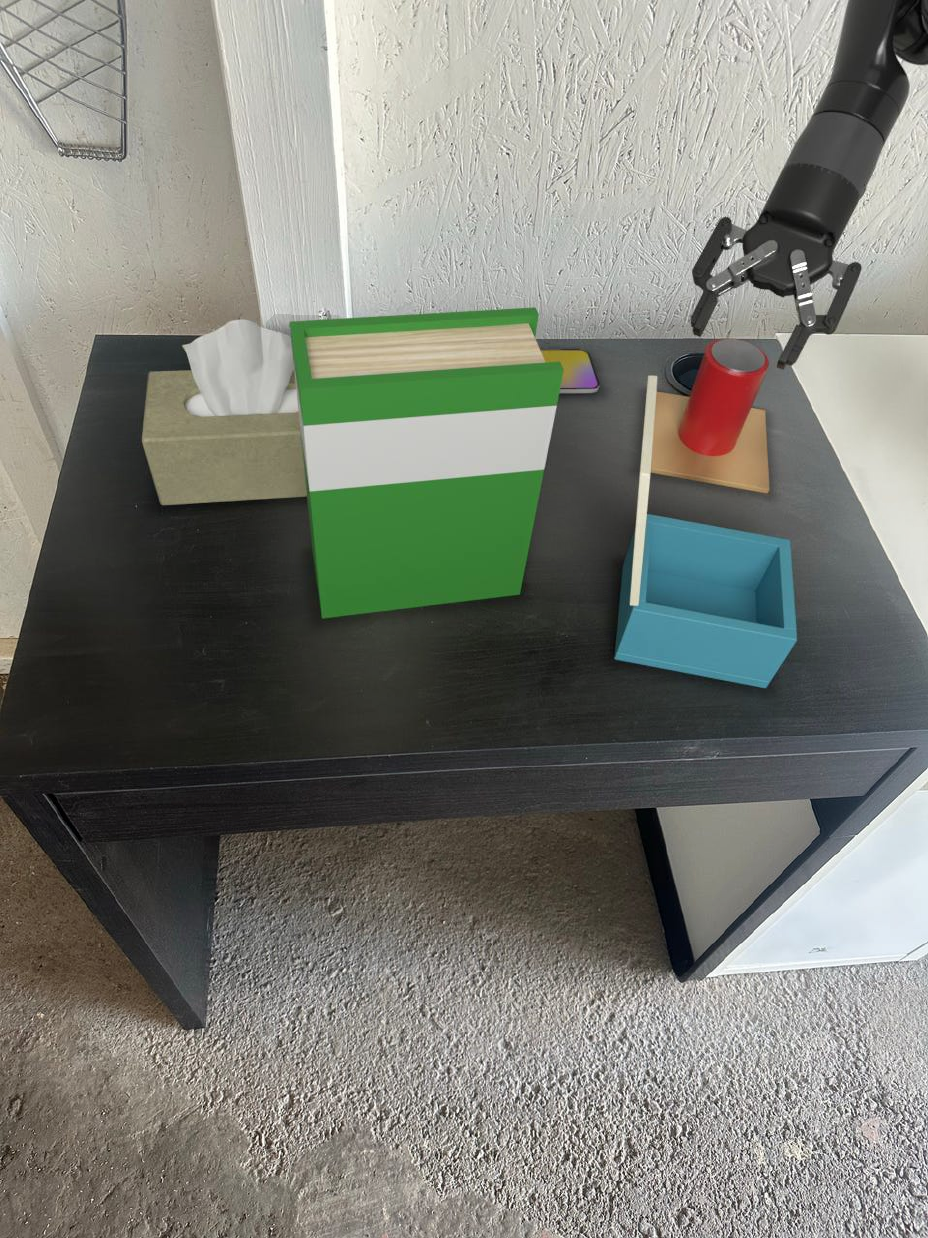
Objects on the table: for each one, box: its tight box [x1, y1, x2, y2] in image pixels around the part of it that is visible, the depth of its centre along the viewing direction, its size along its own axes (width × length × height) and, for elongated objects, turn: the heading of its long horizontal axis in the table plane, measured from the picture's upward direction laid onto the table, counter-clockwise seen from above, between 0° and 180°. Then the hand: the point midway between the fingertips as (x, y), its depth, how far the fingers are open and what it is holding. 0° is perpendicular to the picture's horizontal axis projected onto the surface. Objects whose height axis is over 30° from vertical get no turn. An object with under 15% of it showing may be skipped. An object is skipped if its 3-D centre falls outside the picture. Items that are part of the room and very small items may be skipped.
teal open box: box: [613, 513, 798, 689], centre depth 73 cm, size 13×11×7 cm
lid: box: [630, 375, 658, 606], centre depth 65 cm, size 14×11×1 cm
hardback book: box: [289, 307, 564, 620], centre depth 68 cm, size 18×7×24 cm, turn 102°
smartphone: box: [540, 348, 601, 394], centre depth 96 cm, size 7×1×15 cm
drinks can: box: [678, 337, 770, 456], centre depth 87 cm, size 6×6×10 cm
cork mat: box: [651, 391, 770, 494], centre depth 91 cm, size 13×13×1 cm
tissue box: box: [141, 319, 307, 506], centre depth 78 cm, size 19×10×16 cm, turn 99°
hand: (737, 350), depth 81 cm, fingers open, 8 cm apart
